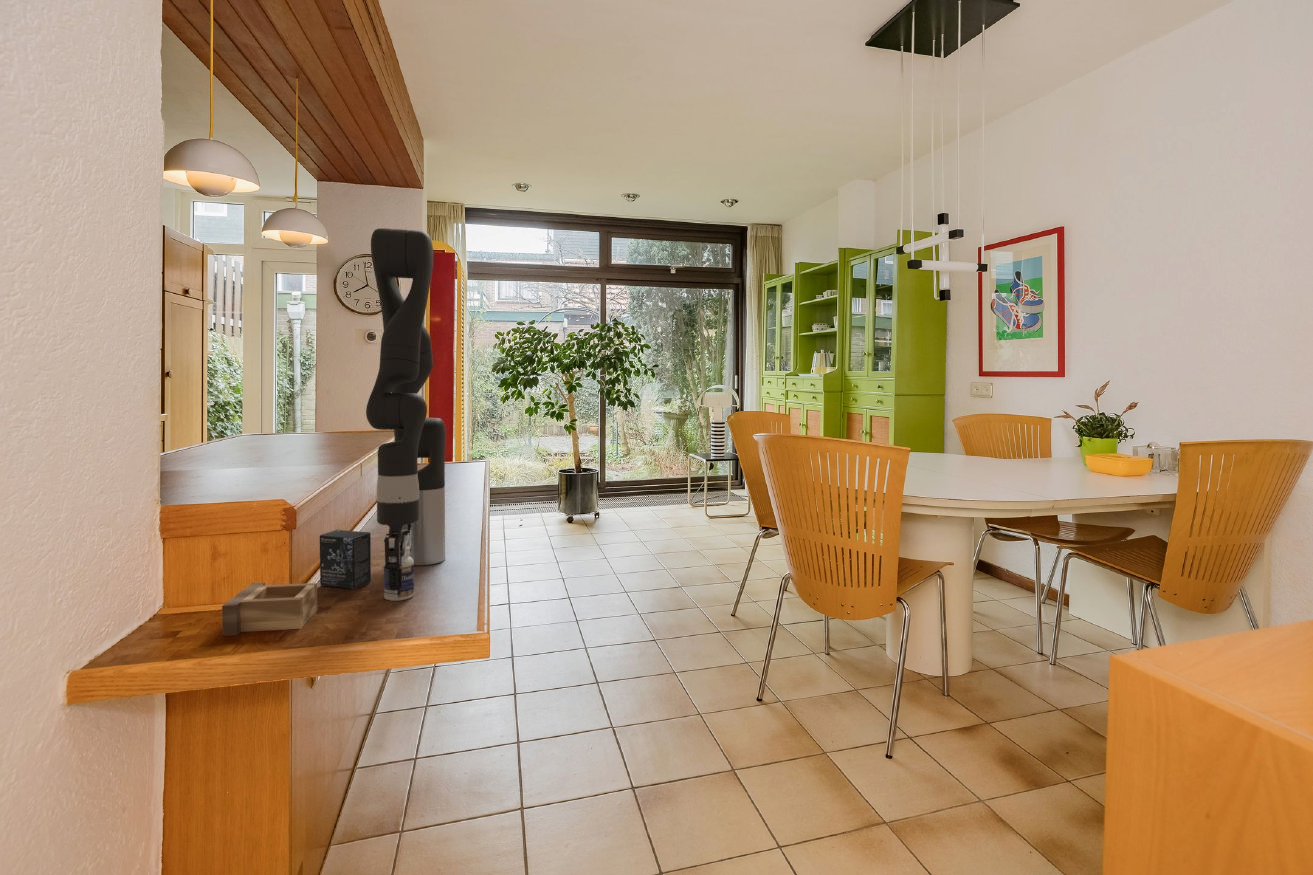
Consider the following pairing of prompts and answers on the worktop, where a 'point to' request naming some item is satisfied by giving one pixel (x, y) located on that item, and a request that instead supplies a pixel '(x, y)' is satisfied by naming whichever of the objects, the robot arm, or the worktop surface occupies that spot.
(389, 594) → the pill bottle
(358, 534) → the box
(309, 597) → the light brown wooden tray
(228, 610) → the plank
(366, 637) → the worktop surface
